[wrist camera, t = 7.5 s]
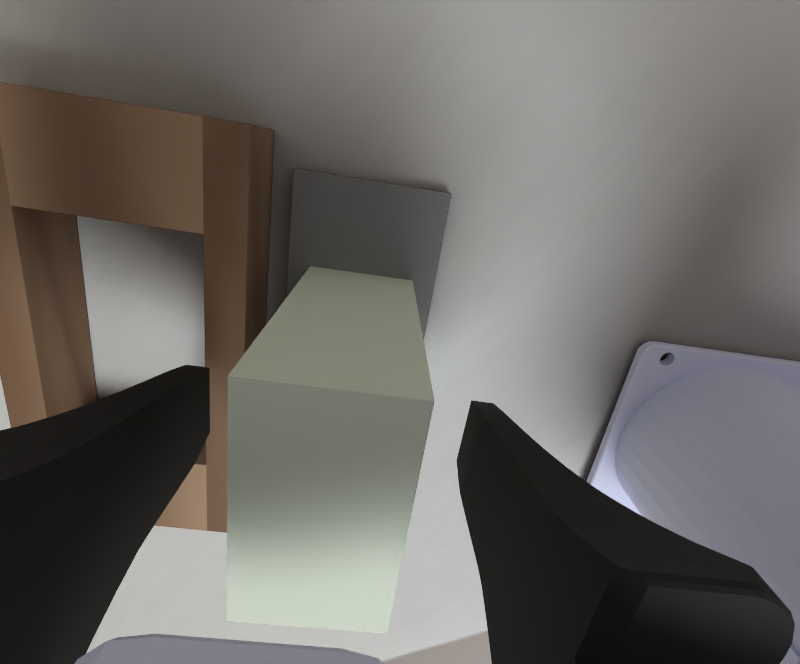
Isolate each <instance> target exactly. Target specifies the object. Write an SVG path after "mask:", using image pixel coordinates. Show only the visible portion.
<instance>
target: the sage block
mask: <svg viewBox="0 0 800 664" xmlns="http://www.w3.org/2000/svg"><path fill="white" fill-rule="evenodd" d="M433 405H434V396H433V391H432V385H431V380H430V374H429V369H428V363H427V357H426V352H425V346H424V341H423V335H422V330H421V324H420V319H419V313H418V308H417V302H416V296H415V291H414V285H413V281H412V280H405V279H398V278H391V277H384V276H377V275H370V274H363V273H355V272H348V271H341V270H334V269H327V268H320V267H313V266H310V267H309V269H308V270H307V271H306V273H305V274H304V275H303V277H302V278H301V279H300V281H299V282H298V283H297V285H296V286H295V287H294V289H293V290H292V291H291V293H290V294H289V295H288V297H287V298H286V299H285V300H284V302H283V303H282V304H281V306H280V307H279V308H278V310H277V311H276V312H275V314H274V315H273V316H272V318H271V319H270V320H269V322H268V323H267V324H266V326H265V327H264V328H263V330H262V331H261V332H260V334H259V335H258V336H257V338H256V339H255V340H254V342H253V343H252V344H251V346H250V347H249V348H248V350H247V351H246V352H245V354H244V355H243V356H242V358H241V359H240V360H239V362H238V363H237V364H236V366H235V367H234V368H233V370H232V371H231V372H230V374H229V375H228V405H227V621H236V622H249V623H261V624H273V625H286V626H298V627H311V628H323V629H336V630H348V631H361V632H373V633H385V634H387V630H388V625H389V620H390V615H391V610H392V605H393V600H394V596H395V591H396V586H397V581H398V576H399V571H400V566H401V561H402V557H403V552H404V547H405V542H406V537H407V532H408V527H409V522H410V517H411V513H412V508H413V503H414V498H415V493H416V488H417V483H418V478H419V474H420V469H421V464H422V459H423V454H424V449H425V444H426V439H427V434H428V430H429V425H430V420H431V415H432V410H433Z"/></svg>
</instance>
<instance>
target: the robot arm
mask: <svg viewBox="0 0 800 664" xmlns="http://www.w3.org/2000/svg"><path fill="white" fill-rule="evenodd" d="M665 353H668V356H667V357H666V359H664V360H662V361H660V358H661V357H662V355H664V354H665ZM209 433H210V368H207V367H199V366H191V365H185V366H181V367H178V368H176V369H173V370H170V371H168V372H165V373H163V374H161V375H158V376H156V377H154V378H151V379H149V380H146V381H144V382H142V383H139V384H137V385H135V386H132V387H130V388H127V389H125V390H123V391H120V392H118V393H115V394H113V395H110V396H107V397H105V398H102V399H100V400H97V401H94V402H92V403H89V404H86V405H84V406H81V407H79V408H76V409H73V410H70V411H67V412H64V413H61V414H58V415H55V416H52V417H48V418H45V419H42V420H38V421H35V422H31V423H28V424H25V425H21V426H17V427H13V428H9V429H5V430H1V431H0V664H384V663H383V662H382V661H380V660H379V659H378V658H375V657H371V656H368V655H364V654H360V653H356V652H353V651H349V650H345V649H339V648H326V647H314V646H301V645H289V644H276V643H264V642H251V641H239V640H226V639H214V638H201V637H189V636H176V635H164V634H149V635H139V636H128V637H118V638H115V639H112V640H109V641H106V642H105V643H103V644H101V645H100V646H98V647H97V648H95V649H93V650H92V651H90V652H88V653H87V654H86V652H87V650H88V648H89V645H90V643H91V641H92V639H93V637H94V635H95V633H96V631H97V629H98V627H99V625H100V623H101V621H102V619H103V617H104V615H105V613H106V611H107V609H108V607H109V605H110V603H111V601H112V599H113V597H114V595H115V593H116V591H117V589H118V587H119V585H120V584H121V582H122V580H123V578H124V576H125V574H126V572H127V570H128V569H129V567H130V565H131V563H132V561H133V559H134V557H135V555H136V553H137V552H138V550H139V548H140V547H141V545H142V543H143V542H144V540H145V539H146V537H147V535H148V534H149V532H150V531H151V529H152V528H153V526H154V525H155V523H156V522H157V520H158V519H159V517H160V516H161V514H162V513H163V511H164V510H165V508H166V507H167V505H168V504H169V502H170V501H171V499H172V498H173V496H174V495H175V493H176V492H177V490H178V489H179V487H180V486H181V484H182V483H183V481H184V480H185V478H186V477H187V475H188V474H189V472H190V471H191V469H192V467H193V466H194V464H195V463H196V461H197V459H198V457H199V455H200V453H201V450H202V448H203V446H204V444H205V442H206V440H207V437H208V435H209ZM457 468H458V479H459V487H460V494H461V499H462V503H463V507H464V511H465V516H466V520H467V524H468V528H469V532H470V536H471V540H472V544H473V548H474V552H475V556H476V560H477V564H478V569H479V574H480V579H481V584H482V590H483V597H484V605H485V612H486V619H487V627H488V635H489V643H490V651H491V660H492V664H800V362H798V361H791V360H784V359H777V358H770V357H762V356H755V355H748V354H741V353H734V352H727V351H720V350H713V349H706V348H698V347H691V346H684V345H677V344H670V343H663V342H656V341H649V342H646V343H644V344H643V345H641V346H640V347H639V349H638V350H637V352H636V355H635V357H634V360H633V362H632V365H631V367H630V370H629V373H628V375H627V378H626V380H625V383H624V385H623V388H622V391H621V393H620V396H619V398H618V401H617V404H616V406H615V409H614V411H613V414H612V416H611V419H610V422H609V424H608V427H607V429H606V432H605V435H604V437H603V440H602V442H601V445H600V447H599V450H598V453H597V455H596V458H595V460H594V463H593V466H592V468H591V471H590V473H589V476H588V478H587V481H585V480H583V479H582V478H580V477H579V476H577V475H576V474H575V473H573V472H572V471H571V470H569V469H568V468H567V467H565V466H564V465H563V464H562V463H560V462H559V461H558V460H557V459H555V458H554V457H553V456H552V455H551V454H549V453H548V452H547V451H546V450H545V449H543V448H542V447H541V446H540V445H539V444H538V443H536V442H535V441H534V440H533V439H532V438H531V437H530V436H529V435H528V434H526V433H525V432H524V431H523V430H522V429H521V428H520V427H519V426H518V425H517V424H516V423H515V422H513V421H512V420H511V419H510V418H509V417H508V416H507V415H506V414H505V413H504V412H503V411H501V410H500V409H499V408H498V407H497V406H495V405H494V404H493V403H486V402H478V401H471V405H470V409H469V413H468V417H467V421H466V425H465V429H464V433H463V437H462V441H461V445H460V449H459V453H458V458H457Z"/></svg>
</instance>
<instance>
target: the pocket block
mask: <svg viewBox="0 0 800 664" xmlns="http://www.w3.org/2000/svg"><path fill="white" fill-rule="evenodd" d="M273 148H274V130H271V129H267V128H263V127H259V126H255V125H251V124H246V123H240V122H234V121H228V120H222V119H216V118H210V117H204V116H198V115H192V114H186V113H181V112H175V111H169V110H163V109H157V108H151V107H145V106H139V105H133V104H127V103H121V102H115V101H109V100H103V99H97V98H91V97H85V96H79V95H73V94H67V93H61V92H55V91H49V90H43V89H37V88H31V87H25V86H19V85H13V84H7V83H1V82H0V376H1V381H2V385H3V390H4V395H5V400H6V405H7V410H8V415H9V419H10V424H11V428H13V427H17V426H21V425H25V424H28V423H31V422H35V421H38V420H42V419H45V418H48V417H52V416H55V415H58V414H61V413H64V412H67V411H70V410H73V409H76V408H79V407H81V406H84V405H86V404H89V403H92V402H94V401H97V393H96V384H95V375H94V367H93V358H92V350H91V341H90V333H89V324H88V315H87V307H86V298H85V290H84V281H83V272H82V264H81V255H80V247H79V238H78V230H77V221H76V215H78V216H84V217H91V218H98V219H105V220H111V221H118V222H125V223H132V224H139V225H145V226H152V227H159V228H166V229H172V230H179V231H186V232H193V233H199V234H204V310H205V367H207V368H210V433H209V435H208V437H207V440H206V442H205V444H204V446H203V448H202V450H201V453H200V455H199V457H198V459H197V461H196V463H195V464H194V466H193V467H192V469H191V471H190V472H189V474H188V475H187V477H186V478H185V480H184V481H183V483H182V484H181V486H180V487H179V489H178V490H177V492H176V493H175V495H174V496H173V498H172V499H171V501H170V502H169V504H168V505H167V507H166V508H165V510H164V511H163V513H162V514H161V516H160V517H159V519H158V520H157V522H156V523H155V526H166V527H176V528H186V529H196V530H206V531H217V532H227V405H228V375H229V374H230V372H231V371H232V370H233V368H234V367H235V366H236V364H237V363H238V362H239V360H240V359H241V358H242V356H243V355H244V354H245V352H246V351H247V350H248V348H249V347H250V346H251V344H252V343H253V342H254V340H255V339H256V338H257V336H258V335H259V334H260V332H261V331H262V330H263V328H264V327H265V326H266V310H267V287H268V264H269V241H270V217H271V194H272V171H273Z"/></svg>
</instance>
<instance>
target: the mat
mask: <svg viewBox="0 0 800 664" xmlns="http://www.w3.org/2000/svg"><path fill="white" fill-rule="evenodd" d="M450 198H451V193H447V192H441V191H435V190H429V189H422V188H416V187H410V186H404V185H398V184H391V183H385V182H379V181H373V180H367V179H360V178H354V177H348V176H342V175H336V174H329V173H323V172H317V171H311V170H305V169H298V168H294V175H293V192H292V208H291V225H290V241H289V258H288V275H287V291H286V298H287V297H288V295H289V294H290V293H291V291H292V290H293V289H294V287H295V286H296V285H297V283H298V282H299V281H300V279H301V278H302V277H303V275H304V274H305V273H306V271H307V270H308V269H309V267H310V266H313V267H320V268H327V269H334V270H341V271H348V272H355V273H363V274H370V275H377V276H384V277H391V278H398V279H405V280H412V281H413V285H414V291H415V296H416V302H417V308H418V313H419V319H420V324H421V330H422V335H423V341H424V336H425V330H426V325H427V320H428V314H429V309H430V304H431V299H432V293H433V288H434V283H435V277H436V272H437V267H438V261H439V256H440V251H441V246H442V240H443V235H444V230H445V224H446V219H447V214H448V208H449V203H450Z"/></svg>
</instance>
